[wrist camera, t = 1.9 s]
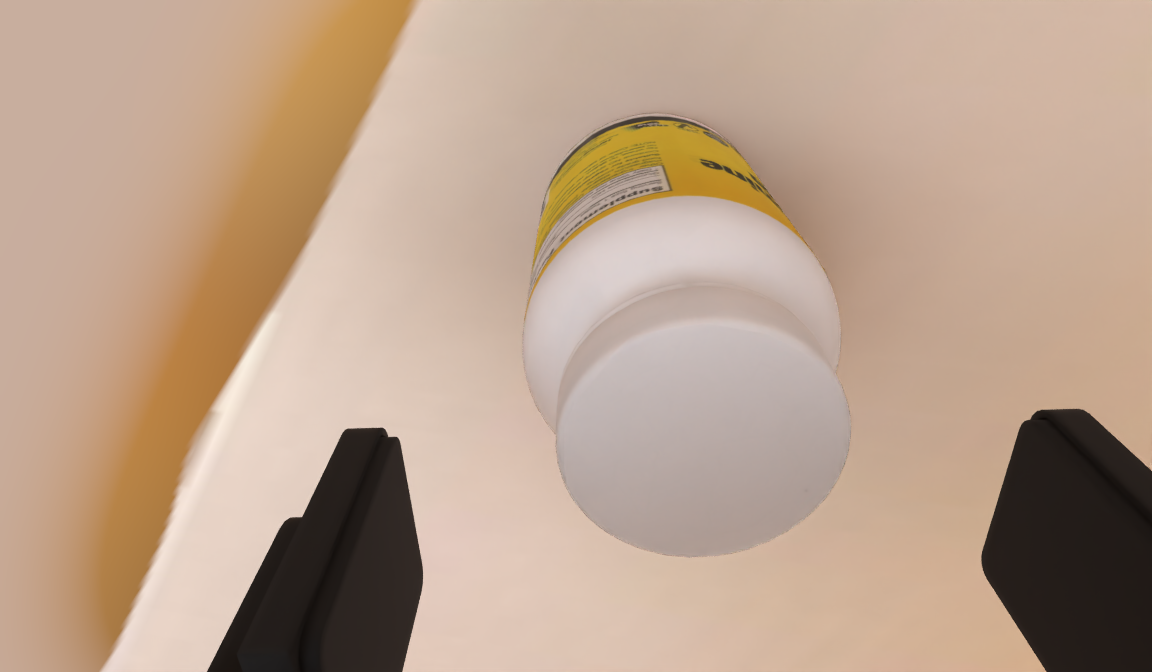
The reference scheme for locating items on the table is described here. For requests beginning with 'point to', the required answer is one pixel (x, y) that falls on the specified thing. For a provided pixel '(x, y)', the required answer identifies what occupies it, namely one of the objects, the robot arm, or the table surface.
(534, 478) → the table surface
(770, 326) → the pill bottle
